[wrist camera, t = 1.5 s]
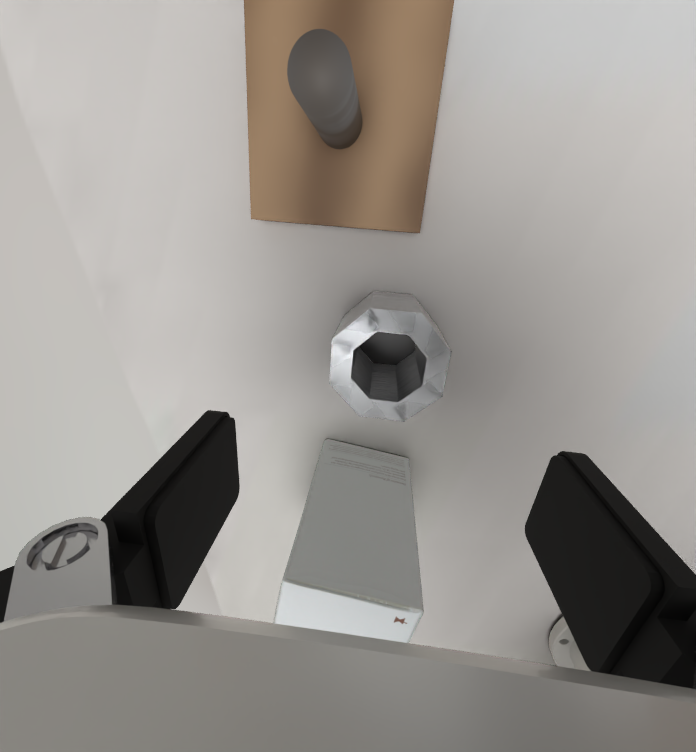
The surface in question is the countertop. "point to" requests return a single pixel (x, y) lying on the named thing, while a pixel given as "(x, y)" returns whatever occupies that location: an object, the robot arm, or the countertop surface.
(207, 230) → the countertop surface
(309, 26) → the shaft block
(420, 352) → the hub
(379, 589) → the supplement box
